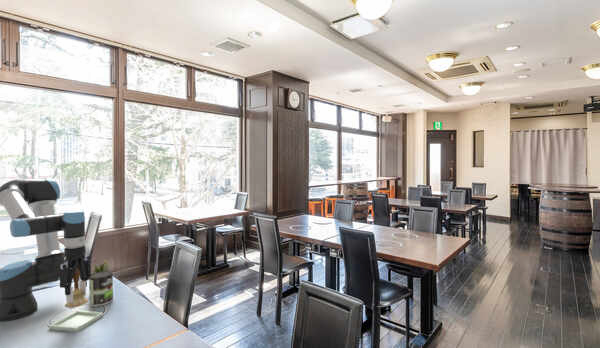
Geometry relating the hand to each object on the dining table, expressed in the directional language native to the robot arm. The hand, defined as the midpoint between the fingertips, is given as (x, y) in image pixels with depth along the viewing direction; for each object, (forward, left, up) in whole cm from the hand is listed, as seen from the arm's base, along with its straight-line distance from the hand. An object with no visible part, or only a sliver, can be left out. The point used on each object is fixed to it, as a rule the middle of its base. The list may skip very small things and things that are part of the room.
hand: (76, 298), depth 134 cm
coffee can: (-6, +20, -11) cm, 24 cm away
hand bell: (0, 0, -3) cm, 3 cm away
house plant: (-18, +32, -11) cm, 39 cm away
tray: (0, 0, -11) cm, 11 cm away
